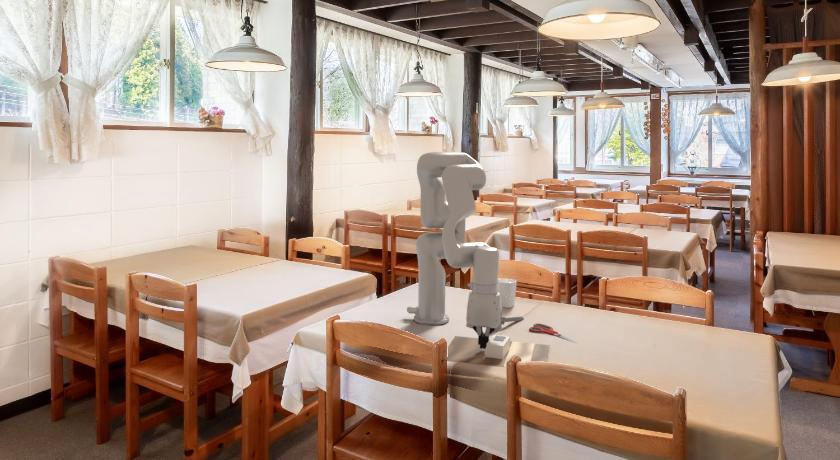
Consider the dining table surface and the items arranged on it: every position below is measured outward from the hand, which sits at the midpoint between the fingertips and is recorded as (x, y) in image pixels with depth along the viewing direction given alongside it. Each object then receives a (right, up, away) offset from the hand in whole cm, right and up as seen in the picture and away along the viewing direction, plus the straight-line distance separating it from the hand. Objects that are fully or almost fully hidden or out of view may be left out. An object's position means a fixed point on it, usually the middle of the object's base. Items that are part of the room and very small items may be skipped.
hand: (483, 347), depth 177 cm
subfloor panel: (+4, -2, -1) cm, 4 cm away
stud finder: (+4, -1, -2) cm, 5 cm away
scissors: (+27, 0, +17) cm, 32 cm away
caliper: (+12, +2, +27) cm, 29 cm away
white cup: (+14, +6, +52) cm, 54 cm away
